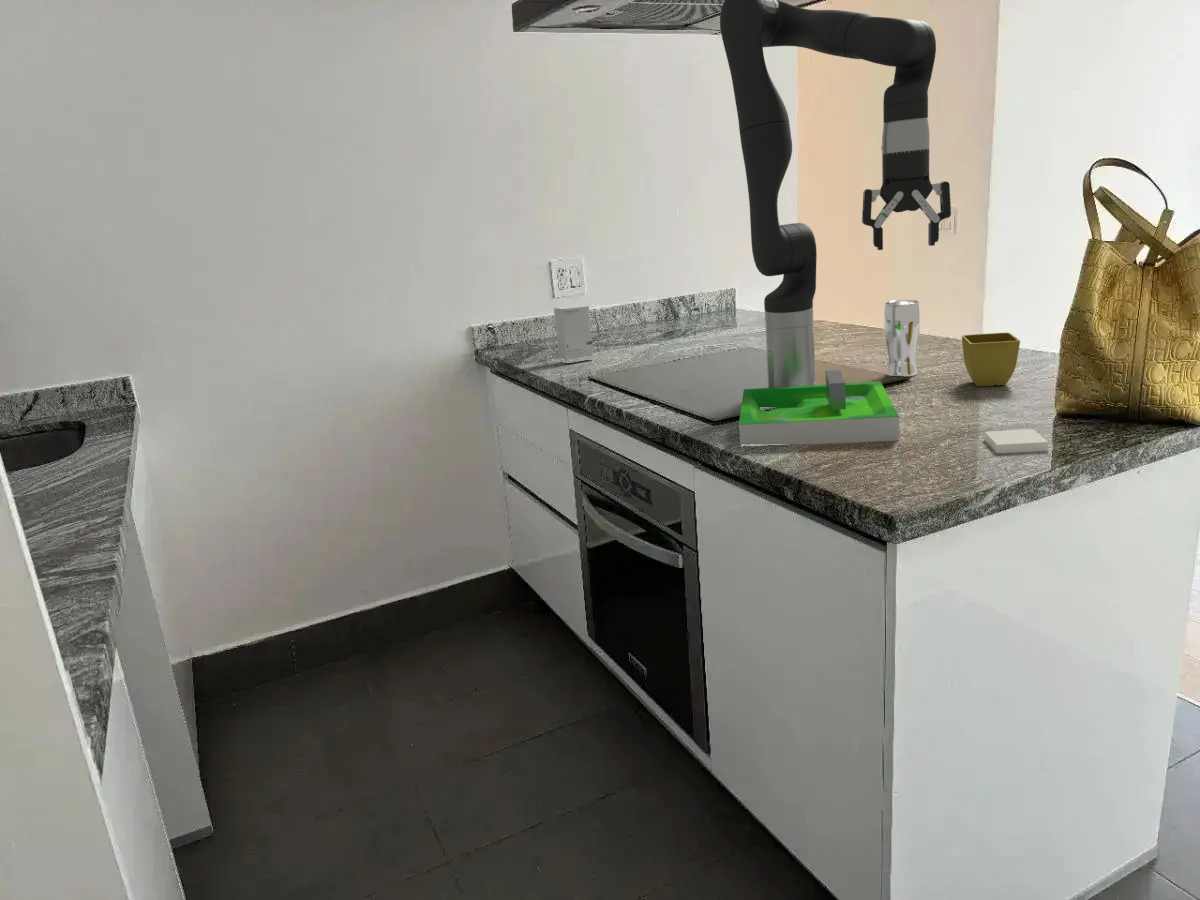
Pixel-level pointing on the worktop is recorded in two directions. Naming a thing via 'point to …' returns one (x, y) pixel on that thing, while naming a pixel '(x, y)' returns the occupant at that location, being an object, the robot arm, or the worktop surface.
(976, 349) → the flower pot
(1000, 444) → the tile
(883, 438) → the tray
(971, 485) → the worktop surface
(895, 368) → the beer glass
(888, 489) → the worktop surface
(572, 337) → the skincare box
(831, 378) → the gray rectangular block
